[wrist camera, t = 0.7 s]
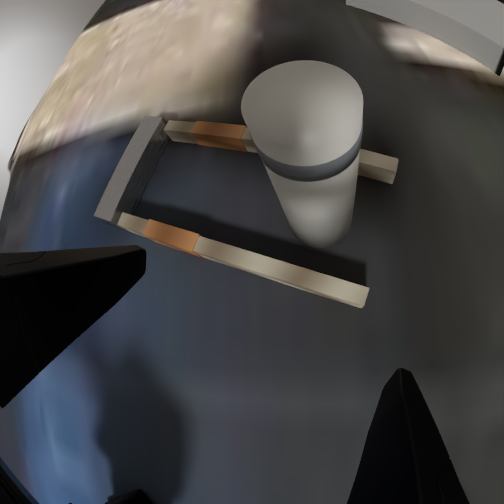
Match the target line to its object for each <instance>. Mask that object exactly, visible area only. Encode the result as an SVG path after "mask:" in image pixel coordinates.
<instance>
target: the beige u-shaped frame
mask: <svg viewBox="0 0 504 504" xmlns="http://www.w3.org/2000/svg"><path fill="white" fill-rule="evenodd" d="M170 138H171V140H172V141H177V142H186V143H194V144H199V145H203V146H210V147H217V148H224V149H230V150H236V151H243V152H247V151H248V152H254V153H257V150H256V148H255V146H254V144H253V141H252V139H251V136H250V133H249V130H248V128H247V127H246V126H243V125H235V124H226V123H216V122H206V121H197V122H187V121H172V120H169V121H168V123H167V122H166V121H165V119H164V118H163V117H144V118H143V120H142V122H141V123H140V125H139V127H138V129H137V130H136V132H135V134H134V136H133V137H132V139H131V141H130V143H129V145H128V146H127V148H126V150H125V152H124V154H123V156H122V158H121V159H120V161H119V163H118V165H117V167H116V169H115V171H114V173H113V175H112V177H111V179H110V181H109V183H108V185H107V188H106V190H105V192H104V194H103V196H102V198H101V200H100V203H99V205H98V207H97V209H96V212H95V214H94V216H95V217H97V218H99V219H101V220H102V221H104V222H106V223H108V224H110V225H113V226H115V227H118V228H121V229H124V230H128V231H130V232H132V233H135V234H138V235H141V236H144V237H146V238H149V239H151V240H153V241H155V242H157V243H160V244H163V245H166V246H169V247H172V248H174V249H177V250H180V251H183V252H186V253H189V254H192V255H195V256H198V257H201V258H207V259H210V260H213V261H216V262H219V263H222V264H225V265H228V266H231V267H234V268H237V269H240V270H243V271H246V272H249V273H252V274H255V275H258V276H261V277H264V278H267V279H270V280H273V281H277V282H280V283H283V284H286V285H289V286H292V287H295V288H298V289H301V290H304V291H308V292H311V293H314V294H317V295H320V296H323V297H326V298H330V299H333V300H336V301H339V302H342V303H345V304H349V305H352V306H355V307H358V308H362V307H363V306H364V304H365V301H366V298H367V295H368V291H369V288H368V287H365V286H361V285H358V284H355V283H352V282H348V281H345V280H342V279H338V278H335V277H332V276H329V275H325V274H322V273H319V272H316V271H312V270H309V269H306V268H303V267H299V266H296V265H293V264H290V263H286V262H283V261H280V260H277V259H273V258H270V257H267V256H264V255H260V254H257V253H254V252H250V251H247V250H244V249H241V248H237V247H234V246H231V245H228V244H224V243H221V242H218V241H215V240H211V239H208V238H205V237H202V236H201V235H200V234H197V233H194V232H191V231H187V230H184V229H181V228H177V227H174V226H171V225H167V224H164V223H161V222H158V221H154V220H151V219H149V220H146V219H143V218H140V217H136V216H133V214H134V211H135V209H136V207H137V205H138V202H139V200H140V198H141V196H142V194H143V191H144V189H145V187H146V185H147V183H148V181H149V179H150V177H151V175H152V173H153V171H154V169H155V167H156V165H157V163H158V161H159V159H160V157H161V155H162V153H163V151H164V149H165V147H166V145H167V143H168V141H169V139H170ZM397 165H398V159H397V158H393V157H390V156H386V155H382V154H379V153H375V152H371V151H367V150H363V149H360V155H359V165H358V175H360V176H364V177H368V178H371V179H375V180H379V181H382V182H386V183H389V184H393V181H394V178H395V175H396V171H397Z"/></svg>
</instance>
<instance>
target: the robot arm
mask: <svg viewBox="0 0 504 504" xmlns="http://www.w3.org/2000/svg"><path fill="white" fill-rule="evenodd" d="M145 270H146V250H145V249H143V248H141V247H139V246H137V245H129V246H113V247H98V248H83V249H68V250H54V251H39V252H19V253H0V406H1V408H3V407H5V406H6V405H7V404H8V403H9V402H10V401H11V400H12V399H13V398H14V397H15V396H16V395H17V394H18V393H19V392H20V391H21V390H22V389H23V388H24V387H25V386H26V385H27V384H28V383H29V382H31V381H32V380H33V379H34V378H35V377H36V376H37V375H38V374H39V373H40V372H41V371H42V370H43V369H44V368H45V367H46V366H47V365H48V364H49V363H50V362H51V361H53V360H54V359H55V358H56V357H57V356H58V355H59V354H60V353H61V352H62V351H63V350H64V349H66V348H67V347H68V346H69V345H70V344H71V343H72V342H73V341H74V340H75V339H77V338H78V337H79V336H80V335H81V334H82V333H83V332H84V331H86V330H87V329H88V328H89V327H90V326H91V325H92V324H93V323H95V322H96V321H97V320H98V319H99V318H100V317H101V316H103V315H104V314H105V313H106V312H107V311H108V310H109V309H111V308H112V307H113V306H114V305H115V304H116V303H117V302H118V301H119V300H120V299H121V298H122V297H123V296H124V295H125V294H126V293H127V292H128V291H129V290H130V289H131V288H132V287H133V286H134V285H135V284H136V283H137V282H138V281H139V279H140V278H141V277H142V276H143V275H144V273H145ZM449 458H450V457H449V454H448V452H447V449H446V447H445V445H444V442H443V440H442V437H441V435H440V433H439V430H438V428H437V426H436V424H435V421H434V419H433V417H432V415H431V412H430V410H429V408H428V406H427V404H426V402H425V399H424V397H423V395H422V393H421V391H420V389H419V387H418V385H417V383H416V381H415V379H414V377H413V375H412V373H411V372H410V371H408V370H406V369H403V368H398V369H397V370H396V371H395V373H394V374H393V375H392V377H391V378H390V379H389V381H388V382H387V383H386V385H385V386H384V388H383V390H382V393H381V396H380V399H379V402H378V405H377V408H376V411H375V414H374V417H373V420H372V423H371V425H370V428H369V431H368V435H367V438H366V442H365V446H364V450H363V453H362V457H361V461H360V464H359V468H358V471H357V474H356V477H355V481H354V484H353V487H352V490H351V493H350V496H349V499H348V502H347V504H469V501H468V499H467V497H466V495H465V493H464V490H463V488H462V486H461V484H460V482H459V479H458V477H457V474H456V472H455V469H454V467H453V464H452V462H451V460H450V459H449ZM139 494H140V495H139ZM0 504H39V503H38V502H37V501H36V500H35V498H34V497H33V496H32V495H31V494H30V493H29V492H28V491H27V490H26V488H25V487H24V486H23V485H22V484H21V483H20V481H19V480H18V479H17V478H16V476H15V475H14V474H13V473H12V472H11V470H10V469H9V468H8V466H7V465H6V464H5V462H4V461H3V460H2V458H1V457H0ZM69 504H72V503H69ZM105 504H152V502H151V501H150V500H149V499H148V498H147V496H146V495H145V494H144V493H143V492H142V491H141V490H136V491H134V492H131V493H129V494H126V495H124V496H121V497H119V498H116V499H113V500H111V501H108V502H106V503H105Z"/></svg>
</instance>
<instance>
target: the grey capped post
mask: <svg viewBox="0 0 504 504" xmlns="http://www.w3.org/2000/svg"><path fill="white" fill-rule="evenodd" d="M241 112H242V116H243V119H244V121H245V123H246V125H247V127H248V130H249V133H250V136H251V139H252V141H253V144H254V146H255V148H256V150H257V153H258V155H259V157H260V159H261V160H262V162H263V163H264V166H265V168H266V170H267V173H268V175H269V177H270V180H271V182H272V184H273V187H274V189H275V191H276V194H277V196H278V199H279V201H280V203H281V206H282V208H283V211H284V213H285V215H286V218H287V220H288V223H289V225H290V228H291V230H292V232H293V234H294V235H295V237H296V238H297V239H298V240H299V241H300V242H302V243H303V244H305V245H307V246H310V247H313V248H328V247H331V246H334V245H336V244H337V243H339V242H340V241H342V240H343V239H344V238H345V236H346V235H347V234H348V232H349V230H350V227H351V223H352V216H353V208H354V201H355V193H356V184H357V175H358V165H359V155H360V148H361V143H362V133H363V117H362V115H363V96H362V92H361V89H360V87H359V85H358V84H357V82H356V81H355V80H354V79H353V77H351V76H350V75H349V74H348V73H347V72H345V71H344V70H342V69H340V68H338V67H336V66H334V65H331V64H328V63H324V62H320V61H312V60H300V61H291V62H286V63H283V64H279V65H277V66H274V67H272V68H270V69H268V70H266V71H264V72H263V73H261V74H260V75H259V76H257V77H256V78H255V79H254V80H253V81H252V82H251V83H250V84H249V86H248V87H247V89H246V90H245V92H244V94H243V97H242V101H241Z"/></svg>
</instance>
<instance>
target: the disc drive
mask: <svg viewBox="0 0 504 504" xmlns="http://www.w3.org/2000/svg"><path fill="white" fill-rule="evenodd" d="M346 4H347V5H350V6H354V7H357V8H360V9H364V10H367V11H370V12H373V13H376V14H378V15H381V16H384V17H387V18H390V19H392V20H395V21H397V22H400V23H402V24H405V25H407V26H410V27H412V28H414V29H417V30H419V31H421V32H423V33H425V34H428V35H430V36H432V37H434V38H436V39H438V40H440V41H442V42H444V43H446V44H448V45H450V46H452V47H454V48H455V49H457V50H459V51H461V52H463V53H464V54H466V55H468V56H470V57H471V58H473V59H475V60H476V61H478V62H480V63H481V64H483V65H484V66H486V67H488V68H489V69H491V70H492V71H494V72H495V74H497V75H498V76H500V74H501V72H502V69H503V67H504V4H502V3H501V2H499V1H497V0H346Z"/></svg>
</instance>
